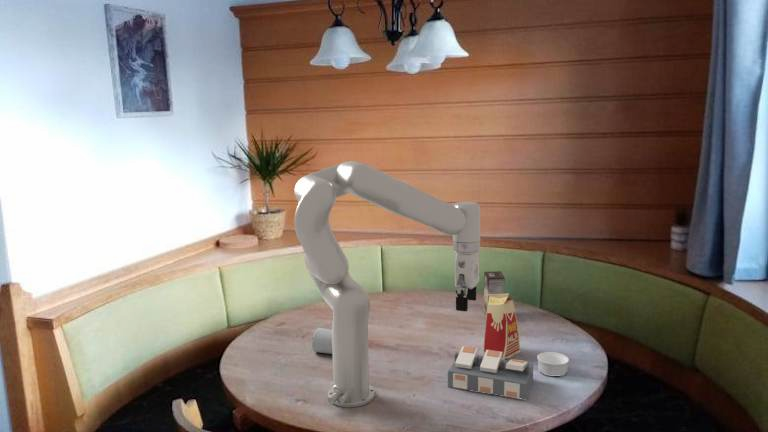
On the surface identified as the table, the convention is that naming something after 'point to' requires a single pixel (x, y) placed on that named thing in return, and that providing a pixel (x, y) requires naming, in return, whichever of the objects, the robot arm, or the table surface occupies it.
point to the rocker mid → (491, 361)
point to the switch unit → (492, 379)
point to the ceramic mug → (322, 341)
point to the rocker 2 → (516, 364)
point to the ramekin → (552, 363)
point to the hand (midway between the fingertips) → (466, 305)
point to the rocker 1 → (466, 357)
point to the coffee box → (492, 286)
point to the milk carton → (501, 326)
